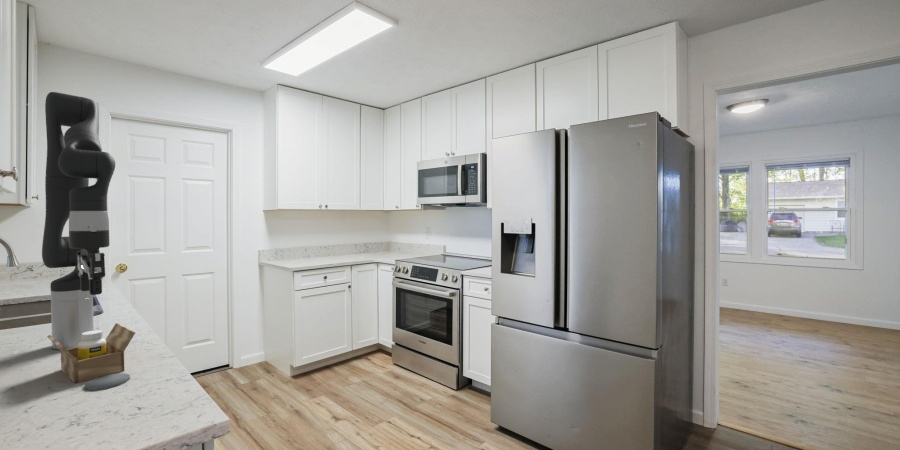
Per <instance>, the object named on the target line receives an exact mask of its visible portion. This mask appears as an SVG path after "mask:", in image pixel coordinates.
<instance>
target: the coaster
mask: <svg viewBox="0 0 900 450" xmlns="http://www.w3.org/2000/svg"><path fill="white" fill-rule="evenodd" d="M130 375H131V374H129V373H125V372H123V373H122V372H121V373H120V372H118V373H113V374H109V375H106V376H102V377H98V378H94V379H90V380H89V381H88V380H87V382H86V383H84V389H85V390H88V391H100V390H107V389H110V388H114V387H118V386H120V385H124V384H125V383H127V382H128V381H130V380H131V378H130V377H131V376H130Z"/></svg>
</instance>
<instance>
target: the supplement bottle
mask: <svg viewBox="0 0 900 450" xmlns="http://www.w3.org/2000/svg"><path fill="white" fill-rule="evenodd" d="M103 332H104V331H103V330H101V329H97V330H96V329H95V330H94V331H88V332H84V333H82V340H83V341H82V342H80V343H79V344H78V361H80V360H84V359H89V358H93V357H97V356H102V355H106V338H103V337H104V336H103V335H104V333H103Z"/></svg>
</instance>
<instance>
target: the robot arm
mask: <svg viewBox="0 0 900 450" xmlns="http://www.w3.org/2000/svg"><path fill="white" fill-rule="evenodd" d="M44 109H45V110H44V112H45V113H44V114H45V128H46V129H45V130H46V164H45V179H44V180H45V184H44V185H45V187H44V188H45V217H44V218H45V220H44V228H43V236H42V245H41V246H42V247H41V258H42V263H43V264H44V266H45V267H46V268H48V269H59V268H71V267H74V269H73V270H72V271H71V272H70V273H68V274H67V275H64V276H62V277H59V278H57V279H54V280H52V281H51V282H50V286H49V287H50V314H51V316H50V317H51V321H50V322H51V336H52V337H53V338H54V339H55V340H57V341H58V342H59V343H60V344H61V345H63V346H64V347H65V348H66V349H70V348H75V347H78V344H79V343H80V342H82V341H83V340H82V333H84V332H88V331H94V329H95V328H94V327H95V326H94V296H97V295H101V294H102V292H103V283H102V279H104V277H105V276H106V268H105V265H106V262H105V257H106V256H105V253H104V252H101V251H100V249H101V248H109V246H110V220H109V214H108V193H109V186H110V183H111V181H112V177H113V175H114V172H115V169H116V160H115V158H114V156H113V155H112V154H110V153H109V152H108V151H107V152H106V151H103V150H102V146H101V145H102V144H101V142H100V139H99V131H100V129H99V128H100V125H99V124H100V120H99V119H100V118H99V117H100V116H99V108H98V105H97V103H96V102H95V101H94V100H93V99H92V98H91V99H90V98H88V97H84V96H78V95H73V94H67V93H62V92H57V91H50V92H49V93H47V94H46V98H45V104H44ZM62 127H69V128H68V129H66V131H65V132H64V133H63V130H62ZM90 179H96V182H95V183H94V184H91V185H90V183H89V181H90ZM67 222H68V236H63V232H64V228H65V226H66V224H67ZM51 349H54V350H60V349H59V348H58V347H57V346H56V345H55V344H54V343H53V342H52V341H51Z"/></svg>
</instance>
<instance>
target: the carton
mask: <svg viewBox="0 0 900 450" xmlns="http://www.w3.org/2000/svg"><path fill="white" fill-rule="evenodd" d="M135 334H136V332H135V331H134V330H131V329H129V328H127V327H126V326H124V325H121V324H120V323H118V322H115V323H114V326H113V327H112V329H111V330H110V332H109V333H108V335H107V336H106V338H105V340H106V355H102V356H97V357H93V358H89V359H84V360H80V361H78V347H75V348H69V349H66V348H65V347H64V346H63V345H61V344H60V343H59V342H58V341H57V340H55V339H54V338H53V337H52V334H49V335H47V336H46V337H47V339H49V340H50V342H51V343H52V342H53V343H54V344H55V345H56V346H57V347H58V348H59V349H58V350H59V351H60V360H61V361H60V364H61V367H60V368H61V371H62V372H63V373H64V374H65V375H66V376H67V377H68V378H69V379H70V380H71V381H73V383H74V384H77V383H82V382H85V381H88V380H89V381H90V380H93V379H95V378H98V377H102V376H106V375H111V374H118V373H120V372H121V373H122V372H124V371H125V351H126V349H127V347H128V346H129V344H130V343H131V341H132V339H133V338H134V336H135Z"/></svg>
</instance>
